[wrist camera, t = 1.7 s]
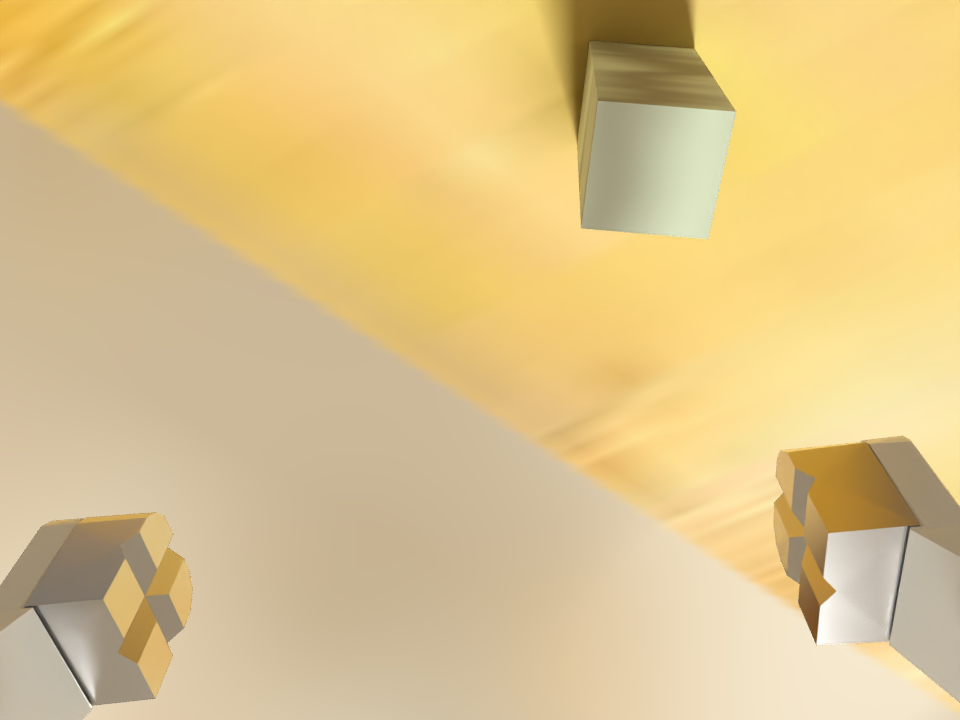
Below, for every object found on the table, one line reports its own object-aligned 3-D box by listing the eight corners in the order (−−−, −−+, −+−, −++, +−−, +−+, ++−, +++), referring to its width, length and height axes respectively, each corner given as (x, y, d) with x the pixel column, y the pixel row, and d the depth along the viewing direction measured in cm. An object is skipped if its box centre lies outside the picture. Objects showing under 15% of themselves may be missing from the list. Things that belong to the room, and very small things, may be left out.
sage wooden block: (694, 48, 35) (736, 111, 27) (675, 151, 38) (707, 239, 29) (589, 40, 35) (598, 100, 27) (577, 143, 38) (581, 228, 29)
